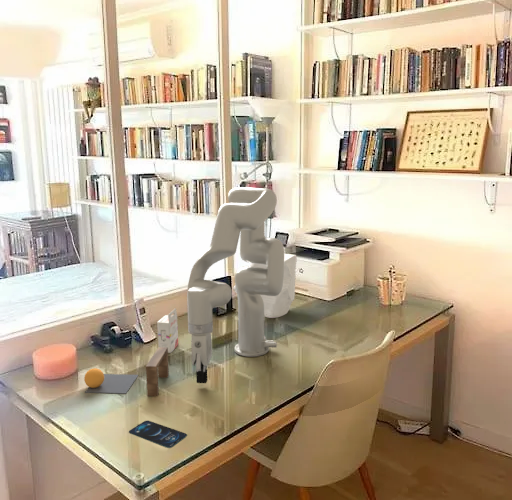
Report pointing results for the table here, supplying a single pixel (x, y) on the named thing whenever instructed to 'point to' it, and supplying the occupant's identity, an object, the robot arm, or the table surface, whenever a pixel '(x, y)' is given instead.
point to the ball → (94, 378)
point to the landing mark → (114, 384)
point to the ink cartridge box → (168, 331)
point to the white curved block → (281, 302)
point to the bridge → (156, 370)
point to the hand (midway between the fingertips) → (202, 381)
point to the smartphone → (158, 434)
